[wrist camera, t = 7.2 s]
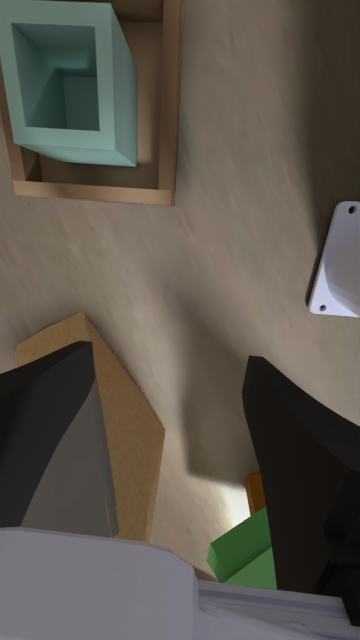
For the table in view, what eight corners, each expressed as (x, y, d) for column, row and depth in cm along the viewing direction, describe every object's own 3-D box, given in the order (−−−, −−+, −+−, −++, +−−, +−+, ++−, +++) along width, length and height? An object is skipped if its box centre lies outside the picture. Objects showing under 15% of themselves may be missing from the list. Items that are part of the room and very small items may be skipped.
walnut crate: (184, 11, 14) (181, -29, 12) (174, 206, 18) (170, 205, 16) (11, 4, 14) (-24, -35, 12) (38, 197, 18) (15, 194, 16)
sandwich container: (84, 307, 22) (-115, 467, 8) (169, 429, 27) (137, 663, 13) (12, 345, 24) (-248, 525, 10) (102, 452, 29) (13, 675, 15)
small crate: (138, 69, 15) (110, 3, 10) (138, 167, 17) (114, 149, 12) (54, 65, 15) (-10, -2, 10) (64, 162, 17) (14, 143, 12)
